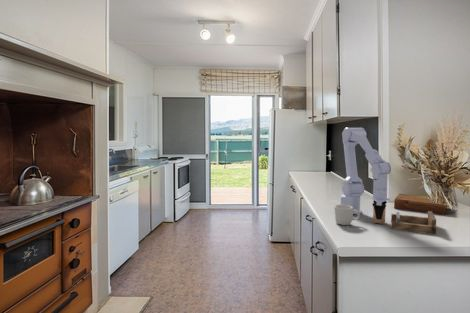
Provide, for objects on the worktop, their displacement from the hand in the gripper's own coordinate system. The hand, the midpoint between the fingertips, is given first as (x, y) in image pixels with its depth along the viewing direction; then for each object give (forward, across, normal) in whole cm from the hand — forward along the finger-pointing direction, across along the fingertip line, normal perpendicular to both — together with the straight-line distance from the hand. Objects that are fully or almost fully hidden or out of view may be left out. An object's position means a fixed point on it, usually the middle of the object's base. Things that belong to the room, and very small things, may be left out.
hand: (379, 217), depth 138 cm
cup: (+3, -9, +13) cm, 16 cm away
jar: (+2, 0, 0) cm, 2 cm away
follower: (+2, 0, -8) cm, 8 cm away
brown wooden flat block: (+3, +40, -19) cm, 44 cm away
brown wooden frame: (+2, 0, -13) cm, 13 cm away
